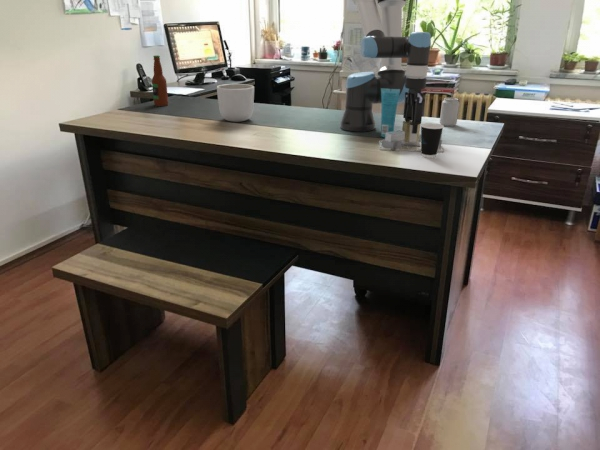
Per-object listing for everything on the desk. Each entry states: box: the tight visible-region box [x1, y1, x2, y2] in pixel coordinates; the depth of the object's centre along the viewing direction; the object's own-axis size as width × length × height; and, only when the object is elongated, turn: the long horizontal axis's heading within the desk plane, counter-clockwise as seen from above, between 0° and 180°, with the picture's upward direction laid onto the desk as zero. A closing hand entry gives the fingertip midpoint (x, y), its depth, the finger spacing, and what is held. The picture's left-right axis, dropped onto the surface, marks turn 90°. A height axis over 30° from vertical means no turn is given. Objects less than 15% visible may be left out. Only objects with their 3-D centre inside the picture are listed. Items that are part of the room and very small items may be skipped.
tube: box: [380, 88, 400, 138], centre depth 200 cm, size 7×5×19 cm, turn 83°
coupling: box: [401, 120, 421, 142], centre depth 189 cm, size 5×5×7 cm
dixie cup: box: [420, 122, 445, 159], centre depth 175 cm, size 8×8×11 cm
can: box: [439, 97, 460, 127], centre depth 224 cm, size 8×8×12 cm
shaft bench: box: [378, 129, 444, 153], centre depth 188 cm, size 23×14×6 cm, turn 84°
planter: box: [216, 83, 255, 123], centre depth 228 cm, size 17×17×15 cm
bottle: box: [151, 55, 169, 107], centre depth 258 cm, size 7×7×25 cm
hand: (409, 139), depth 191 cm, fingers closed on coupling, 5 cm apart
